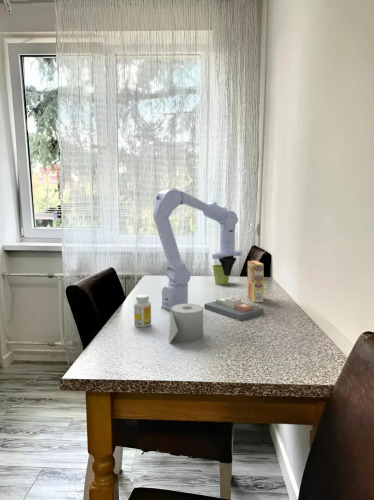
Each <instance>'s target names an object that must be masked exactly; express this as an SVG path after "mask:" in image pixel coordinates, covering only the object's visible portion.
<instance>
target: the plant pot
mask: <svg viewBox="0 0 374 500" xmlns="http://www.w3.org/2000/svg"><path fill="white" fill-rule="evenodd" d="M211 266H212V270H213V274H214V275H213V276H214V282H215V285H217V286H218V285H219V286H223V285H224V286H226V285H228V284H229V280H230V276H226V275H224V272H223V268H222V265H221V263H220V264H213V265H211Z"/></svg>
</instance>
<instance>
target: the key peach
mask: <svg viewBox="0 0 374 500" xmlns="http://www.w3.org/2000/svg"><path fill="white" fill-rule="evenodd" d="M247 304H248V303H246V304H240V305H237V307H236V310H239V311H242V312H247V311H251V310H252V306H251V305H252V304H249V305H247Z"/></svg>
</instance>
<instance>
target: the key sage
mask: <svg viewBox="0 0 374 500" xmlns="http://www.w3.org/2000/svg"><path fill="white" fill-rule="evenodd" d="M226 298H227V297H220V298H217V299H215V301H216V304H219V305H223V306H224V305H226Z"/></svg>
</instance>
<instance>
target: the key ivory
mask: <svg viewBox="0 0 374 500" xmlns="http://www.w3.org/2000/svg"><path fill="white" fill-rule="evenodd" d="M225 298H226V307H229V308H233V309H235V308H236V307H237V305H240V304H241V302H242V298H240V297H235V296H230V297H225Z"/></svg>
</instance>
